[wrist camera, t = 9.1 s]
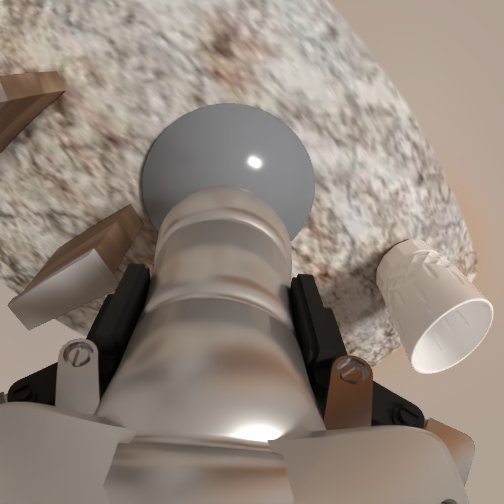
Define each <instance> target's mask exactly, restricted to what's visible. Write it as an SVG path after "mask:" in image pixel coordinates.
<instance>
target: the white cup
mask: <svg viewBox="0 0 504 504" xmlns="http://www.w3.org/2000/svg"><path fill="white" fill-rule="evenodd" d="M376 284H377V286H378V288H379V290H380V292H381V294H382V296H383V298H384V301H385V305H386V308H387V310H388V312H389V315H390V318H391V320H392V322H393V324H394V326H395V328H396V331H397V333H398V335H399V337H400V340H401V342H402V344H403V347H404V348H405V351H406V353H407V356H408V358H409V360H410V363H411V365H412V368H413V369H414V370H415V371H417V372H419V373H423V374H431V373H437V372H440V371H443V370H445V369H448V368H450V367H452V366H454V365H455V364H457V363H459V362H460V361H462V360H463V359H464V358H465V357H467V356H468V355H469V354H470V353H471V352H472V351H473V350H474V349H475V348H476V347H477V346H478V345H479V344H480V343H481V341H482V340H483V338H484V337H485V336H486V334H487V332H488V330H489V328H490V326H491V323H492V320H493V307H492V305H491V304H490V302H489V301H488V300H487V299H486V298H485V297H484V296H483V295H482V294H481V293H480V292H479V291H478V289H477V288H475V286H474V285H473V284H472V283H471V282H470V281H469V280H468V279H467V278H466V277H465V276H464V275H463V274H462V273H461V272H460V271H459V270H458V269H457V268H456V267H455V266H454V265H453V264H452V263H450V262H449V261H448V260H447V259H446V258H445V257H444V256H442V255H440V254H439V253H438V252H437V251H436V250H434V249H433V248H432V247H431V246H430V245H429V244H427V243H426V242H425V241H423V240H416V239H408V240H406V241H404V242H401V243H399V244H396V245H395V246H394V247H393V248H392V249H391V250H389V251H388V252H387V253H386V254H385V255H384V256H383V258H382V260H381V262H380V264H379V266H378V268H377V273H376Z"/></svg>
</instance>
